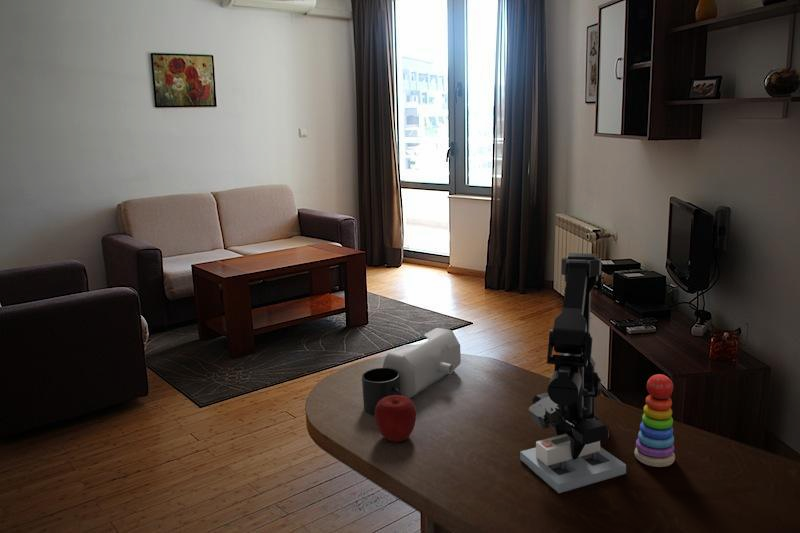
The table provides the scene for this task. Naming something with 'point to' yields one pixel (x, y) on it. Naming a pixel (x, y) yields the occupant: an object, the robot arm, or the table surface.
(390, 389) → the mug
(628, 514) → the table surface
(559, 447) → the power strip
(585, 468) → the keyhole board
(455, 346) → the tank
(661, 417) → the stacking toy
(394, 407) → the apple
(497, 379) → the table surface
